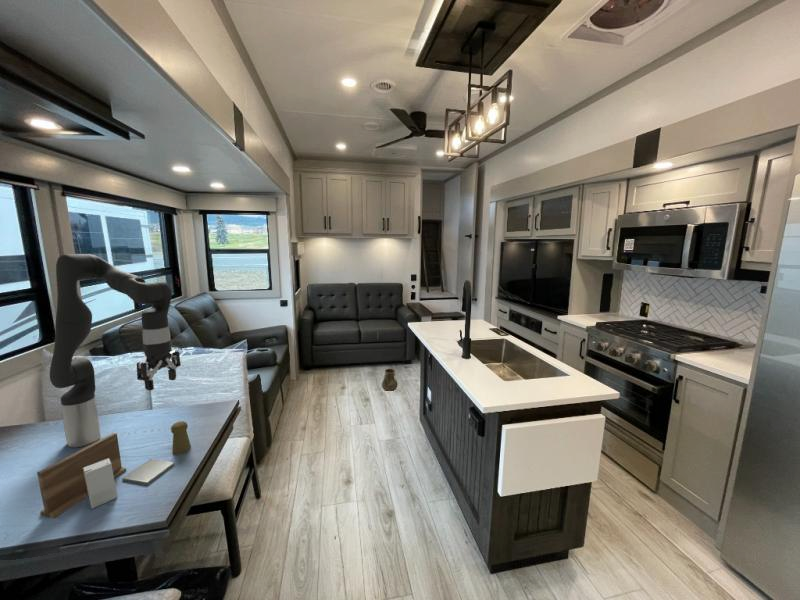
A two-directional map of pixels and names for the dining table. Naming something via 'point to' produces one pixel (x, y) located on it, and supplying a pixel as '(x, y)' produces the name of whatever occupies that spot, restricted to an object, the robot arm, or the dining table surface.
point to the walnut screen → (75, 475)
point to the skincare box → (100, 482)
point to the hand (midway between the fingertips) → (161, 384)
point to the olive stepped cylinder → (180, 438)
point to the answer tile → (148, 471)
